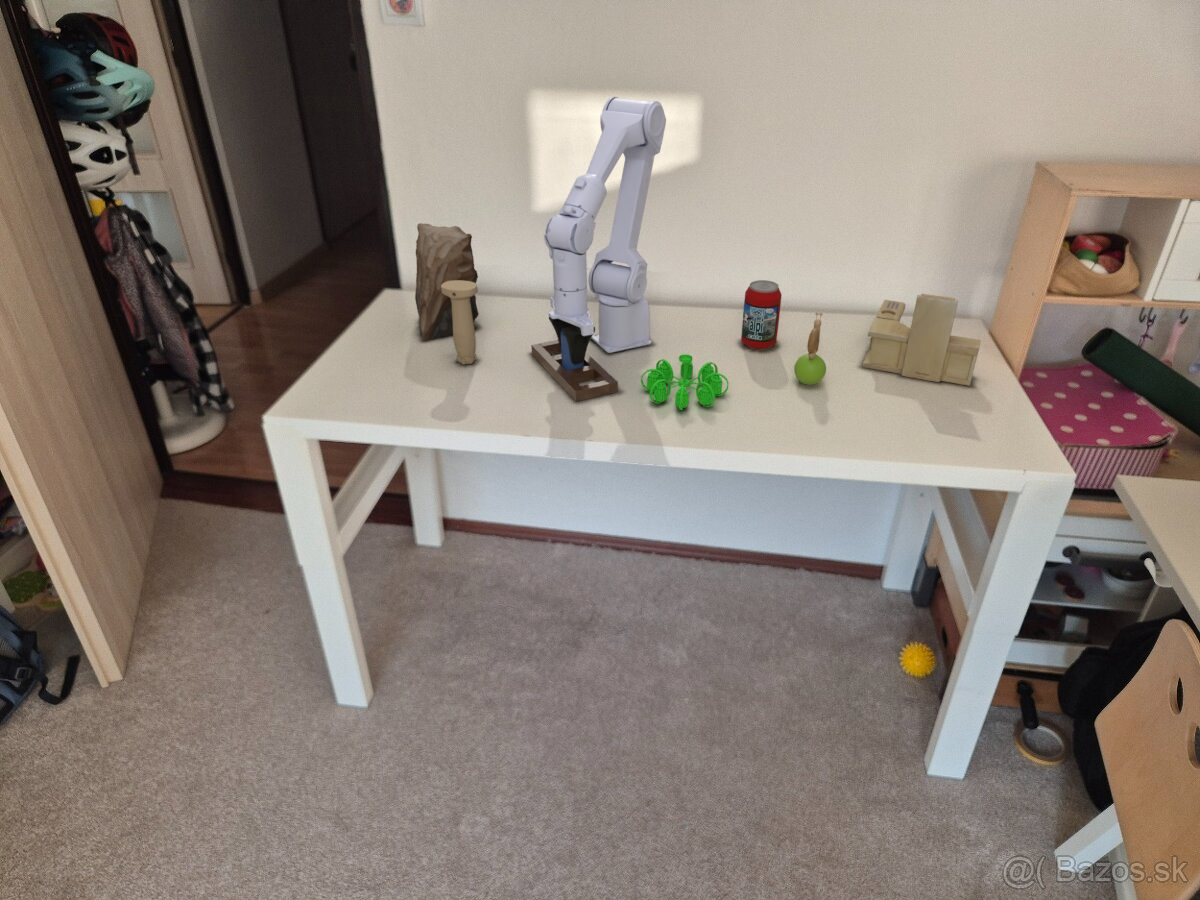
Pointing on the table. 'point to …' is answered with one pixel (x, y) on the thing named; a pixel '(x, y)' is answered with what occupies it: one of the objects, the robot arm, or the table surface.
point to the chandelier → (684, 382)
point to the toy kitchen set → (921, 342)
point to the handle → (462, 318)
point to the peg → (567, 355)
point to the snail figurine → (811, 359)
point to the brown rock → (441, 276)
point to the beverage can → (761, 314)
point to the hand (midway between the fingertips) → (572, 357)
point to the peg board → (575, 373)
